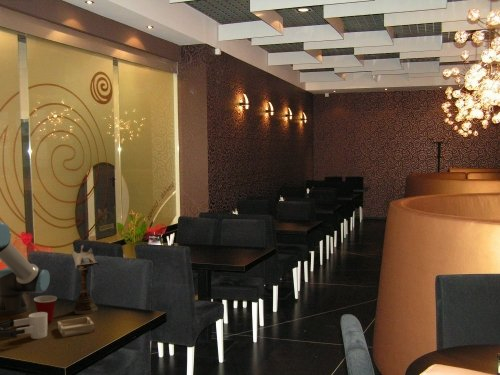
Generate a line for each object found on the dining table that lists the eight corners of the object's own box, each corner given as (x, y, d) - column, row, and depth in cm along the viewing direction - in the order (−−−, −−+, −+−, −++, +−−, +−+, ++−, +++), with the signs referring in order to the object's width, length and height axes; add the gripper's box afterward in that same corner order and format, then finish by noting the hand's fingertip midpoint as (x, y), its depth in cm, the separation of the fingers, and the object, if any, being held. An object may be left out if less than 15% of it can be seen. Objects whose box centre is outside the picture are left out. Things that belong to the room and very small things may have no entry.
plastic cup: (50, 325, 255) (49, 301, 254) (30, 324, 257) (28, 300, 256) (62, 318, 265) (61, 295, 265) (43, 318, 267) (41, 294, 267)
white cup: (29, 340, 235) (28, 318, 234) (29, 335, 242) (28, 313, 241) (48, 337, 238) (47, 315, 237) (48, 332, 245) (47, 311, 244)
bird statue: (105, 313, 272) (102, 245, 270) (78, 318, 266) (75, 248, 264) (97, 306, 287) (94, 241, 285) (72, 310, 281) (69, 243, 278)
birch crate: (57, 328, 250) (57, 321, 250) (88, 323, 257) (87, 316, 257) (62, 337, 238) (62, 329, 238) (94, 331, 245) (94, 324, 244)
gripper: (-23, 333, 239) (28, 325, 249) (-22, 351, 217) (34, 341, 227) (-24, 317, 238) (27, 309, 248) (-23, 333, 216) (33, 324, 226)
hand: (31, 325), depth 238 cm, fingers open, 13 cm apart
